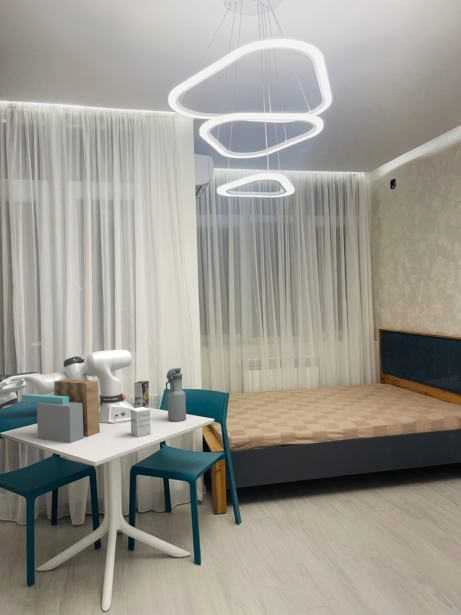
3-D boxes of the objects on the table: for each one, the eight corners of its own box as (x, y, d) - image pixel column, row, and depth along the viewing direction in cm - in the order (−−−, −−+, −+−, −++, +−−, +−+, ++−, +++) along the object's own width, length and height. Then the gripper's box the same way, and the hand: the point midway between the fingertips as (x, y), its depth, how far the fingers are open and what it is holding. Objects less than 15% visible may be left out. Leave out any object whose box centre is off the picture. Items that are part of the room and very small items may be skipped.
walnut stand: (55, 432, 233) (54, 381, 233) (68, 428, 240) (66, 379, 240) (88, 436, 223) (86, 383, 223) (99, 432, 230) (98, 380, 230)
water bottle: (176, 423, 245) (175, 370, 245) (163, 420, 251) (162, 369, 251) (189, 418, 253) (188, 368, 253) (176, 416, 259) (175, 367, 259)
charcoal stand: (37, 438, 224) (36, 403, 224) (51, 433, 231) (50, 400, 231) (70, 443, 213) (69, 406, 213) (83, 438, 220) (82, 403, 221)
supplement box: (130, 434, 225) (129, 408, 225) (144, 431, 229) (143, 406, 229) (137, 437, 219) (136, 411, 219) (151, 434, 223) (150, 408, 223)
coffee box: (144, 409, 281) (143, 383, 281) (134, 409, 283) (133, 383, 283) (149, 406, 290) (149, 380, 290) (140, 406, 292) (139, 380, 292)
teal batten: (21, 400, 231) (21, 394, 231) (28, 399, 235) (28, 393, 235) (62, 404, 219) (62, 398, 219) (69, 402, 223) (68, 396, 223)
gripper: (19, 394, 250) (34, 383, 245) (-16, 402, 232) (-1, 389, 227) (15, 384, 252) (29, 372, 246) (-20, 391, 234) (-5, 378, 228)
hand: (15, 380), depth 236 cm, fingers open, 8 cm apart
